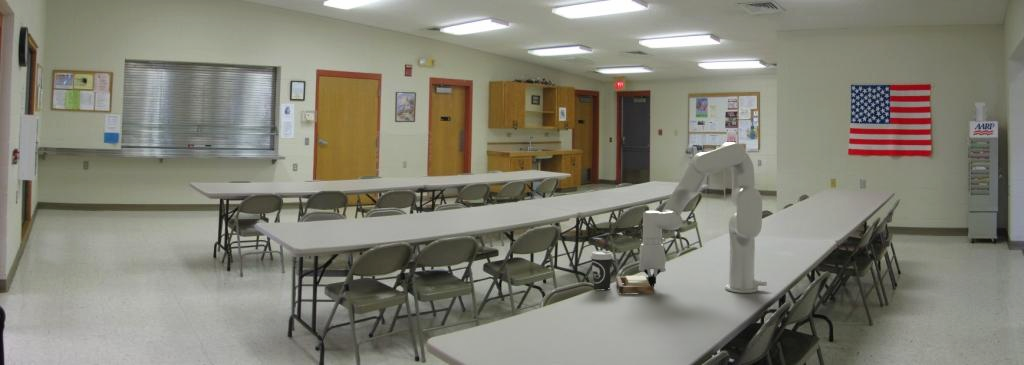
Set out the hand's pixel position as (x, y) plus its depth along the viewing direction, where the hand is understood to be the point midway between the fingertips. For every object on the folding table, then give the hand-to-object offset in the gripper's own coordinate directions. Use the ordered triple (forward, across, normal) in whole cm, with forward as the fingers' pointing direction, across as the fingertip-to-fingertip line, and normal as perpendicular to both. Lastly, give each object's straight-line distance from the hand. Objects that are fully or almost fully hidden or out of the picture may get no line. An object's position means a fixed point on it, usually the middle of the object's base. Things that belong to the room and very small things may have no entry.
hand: (652, 285), depth 269 cm
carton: (+2, +6, 0) cm, 6 cm away
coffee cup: (+2, +20, 0) cm, 20 cm away
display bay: (+1, +6, 0) cm, 6 cm away
